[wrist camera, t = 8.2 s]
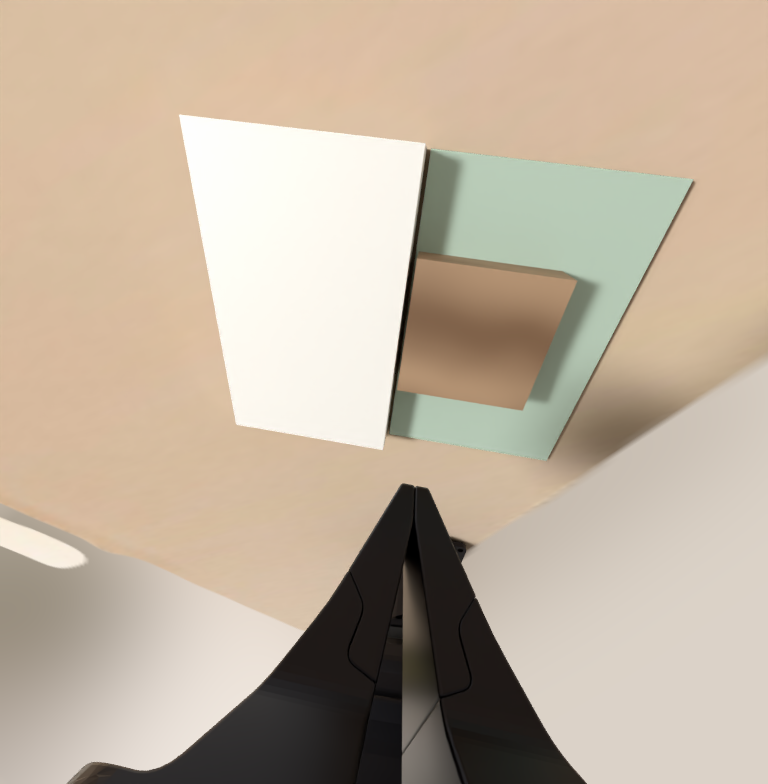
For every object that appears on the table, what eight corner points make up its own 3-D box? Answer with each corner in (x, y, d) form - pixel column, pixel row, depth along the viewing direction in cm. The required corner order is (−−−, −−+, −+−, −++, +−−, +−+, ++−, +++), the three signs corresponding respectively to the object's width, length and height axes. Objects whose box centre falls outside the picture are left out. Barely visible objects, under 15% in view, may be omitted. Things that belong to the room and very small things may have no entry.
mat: (545, 457, 22) (546, 460, 22) (389, 431, 23) (389, 434, 22) (688, 179, 13) (693, 179, 13) (431, 149, 14) (431, 148, 14)
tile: (515, 391, 19) (522, 410, 18) (400, 373, 20) (396, 390, 18) (562, 271, 16) (577, 280, 14) (419, 251, 16) (417, 258, 14)
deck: (386, 430, 23) (382, 450, 21) (250, 407, 23) (236, 424, 22) (426, 148, 14) (425, 143, 12) (208, 123, 15) (179, 114, 13)
